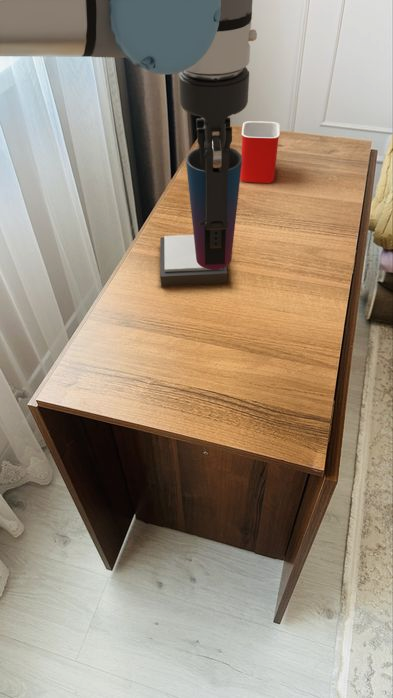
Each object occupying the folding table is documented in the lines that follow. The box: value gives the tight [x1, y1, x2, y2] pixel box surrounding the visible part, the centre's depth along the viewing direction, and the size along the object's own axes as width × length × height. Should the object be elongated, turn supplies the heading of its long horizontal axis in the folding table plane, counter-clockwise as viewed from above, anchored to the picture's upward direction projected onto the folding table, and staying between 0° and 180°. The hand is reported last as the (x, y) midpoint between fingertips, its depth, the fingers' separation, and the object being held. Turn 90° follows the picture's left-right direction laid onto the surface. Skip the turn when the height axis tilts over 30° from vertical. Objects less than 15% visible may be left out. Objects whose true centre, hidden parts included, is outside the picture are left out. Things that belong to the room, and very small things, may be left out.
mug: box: [240, 120, 281, 184], centre depth 115 cm, size 12×8×11 cm
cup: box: [185, 147, 242, 270], centre depth 65 cm, size 7×7×15 cm
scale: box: [159, 234, 228, 288], centre depth 94 cm, size 12×12×3 cm
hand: (213, 247), depth 70 cm, fingers closed on cup, 6 cm apart
